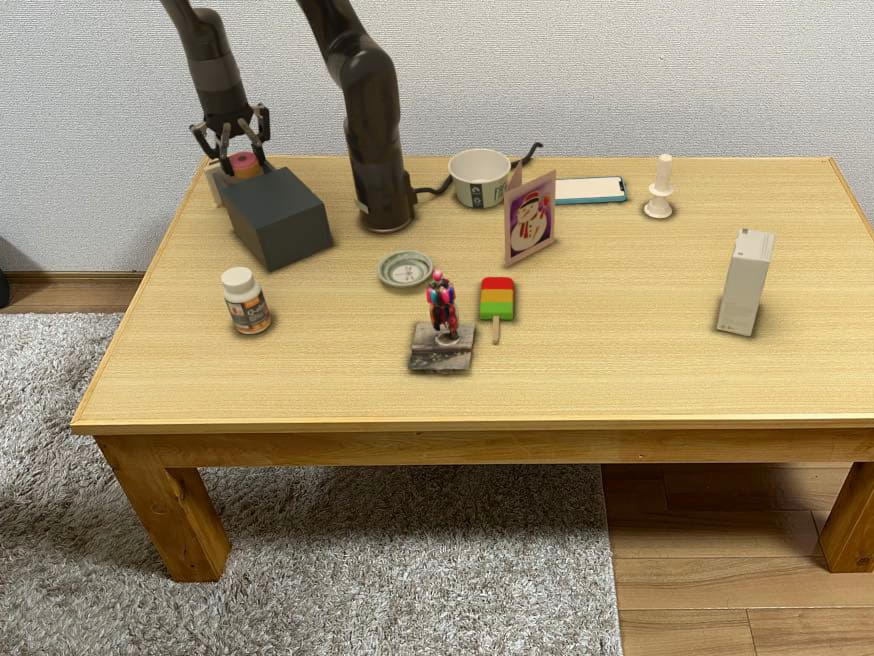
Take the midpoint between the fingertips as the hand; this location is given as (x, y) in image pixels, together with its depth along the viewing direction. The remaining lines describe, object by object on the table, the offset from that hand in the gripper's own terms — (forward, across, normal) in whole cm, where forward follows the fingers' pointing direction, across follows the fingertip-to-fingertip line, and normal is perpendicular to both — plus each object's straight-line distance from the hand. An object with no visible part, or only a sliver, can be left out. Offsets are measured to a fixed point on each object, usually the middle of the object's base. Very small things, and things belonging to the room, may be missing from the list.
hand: (245, 169), depth 140 cm
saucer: (+9, -12, +34) cm, 38 cm away
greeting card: (+9, -33, +39) cm, 52 cm away
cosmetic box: (+9, -50, +76) cm, 92 cm away
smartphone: (+9, -54, +33) cm, 64 cm away
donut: (0, 0, 0) cm, 0 cm away
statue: (+9, -7, +54) cm, 55 cm away
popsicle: (+9, -19, +52) cm, 56 cm away
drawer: (+8, 0, -2) cm, 8 cm away
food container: (+9, -37, +21) cm, 44 cm away
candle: (+9, -61, +46) cm, 77 cm away
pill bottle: (+9, +14, +30) cm, 34 cm away
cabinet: (+9, 0, +12) cm, 14 cm away
